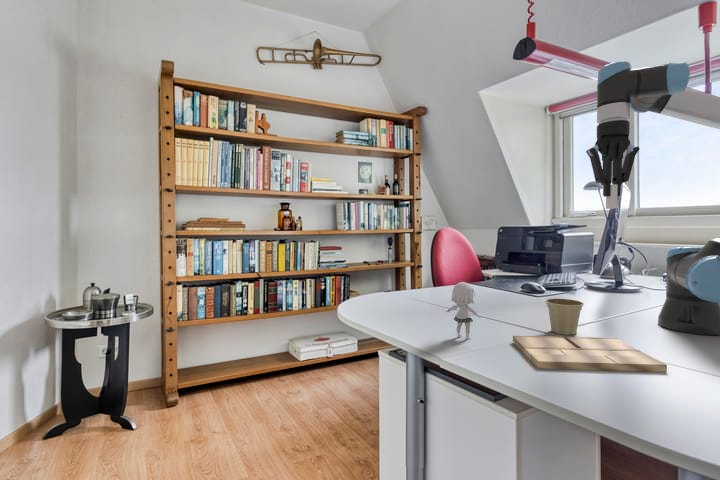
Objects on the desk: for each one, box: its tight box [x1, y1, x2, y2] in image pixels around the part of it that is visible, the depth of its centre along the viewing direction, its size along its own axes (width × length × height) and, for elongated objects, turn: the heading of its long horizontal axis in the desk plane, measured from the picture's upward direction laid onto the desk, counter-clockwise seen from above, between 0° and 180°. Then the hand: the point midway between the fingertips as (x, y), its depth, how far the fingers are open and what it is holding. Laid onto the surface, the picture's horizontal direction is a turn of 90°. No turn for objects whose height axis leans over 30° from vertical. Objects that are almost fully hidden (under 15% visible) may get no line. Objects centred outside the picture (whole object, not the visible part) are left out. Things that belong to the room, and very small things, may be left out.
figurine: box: [445, 281, 482, 340], centre depth 99 cm, size 10×6×15 cm, turn 47°
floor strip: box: [523, 347, 668, 373], centre depth 81 cm, size 25×9×2 cm, turn 84°
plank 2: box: [565, 336, 637, 350], centre depth 90 cm, size 12×8×2 cm
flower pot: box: [545, 297, 585, 336], centre depth 104 cm, size 9×9×9 cm
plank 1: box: [512, 335, 576, 354], centre depth 91 cm, size 12×8×2 cm
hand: (611, 208), depth 104 cm, fingers closed
